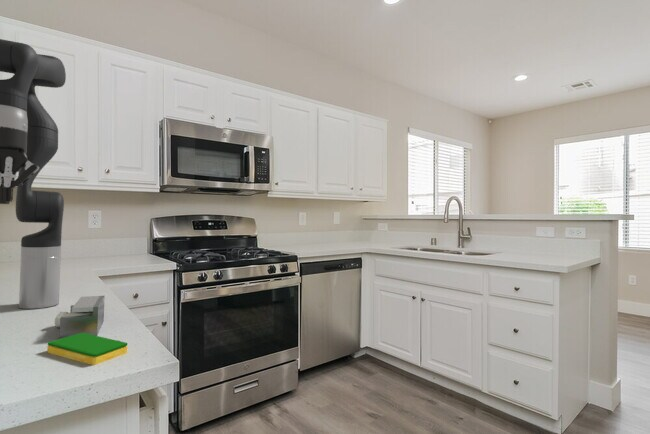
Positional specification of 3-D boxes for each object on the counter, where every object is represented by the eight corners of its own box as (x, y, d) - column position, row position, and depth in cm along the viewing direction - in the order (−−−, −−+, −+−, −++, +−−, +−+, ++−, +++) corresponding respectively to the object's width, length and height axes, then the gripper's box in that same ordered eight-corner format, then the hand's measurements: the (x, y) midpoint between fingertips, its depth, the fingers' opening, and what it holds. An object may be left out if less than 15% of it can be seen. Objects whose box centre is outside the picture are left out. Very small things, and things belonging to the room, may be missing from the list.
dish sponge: (82, 343, 78) (82, 332, 78) (128, 354, 73) (128, 342, 73) (46, 354, 72) (46, 342, 72) (93, 367, 66) (94, 354, 66)
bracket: (70, 323, 90) (71, 297, 90) (103, 320, 93) (104, 295, 93) (59, 338, 79) (60, 308, 79) (97, 335, 82) (98, 306, 82)
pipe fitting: (79, 337, 82) (97, 326, 89) (79, 320, 82) (97, 310, 89) (43, 335, 82) (64, 324, 89) (43, 319, 82) (64, 309, 89)
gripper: (46, 135, 90) (43, 205, 90) (-25, 127, 84) (-27, 202, 84) (37, 128, 83) (34, 204, 83) (-40, 120, 77) (-43, 202, 77)
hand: (3, 203), depth 83 cm, fingers closed
